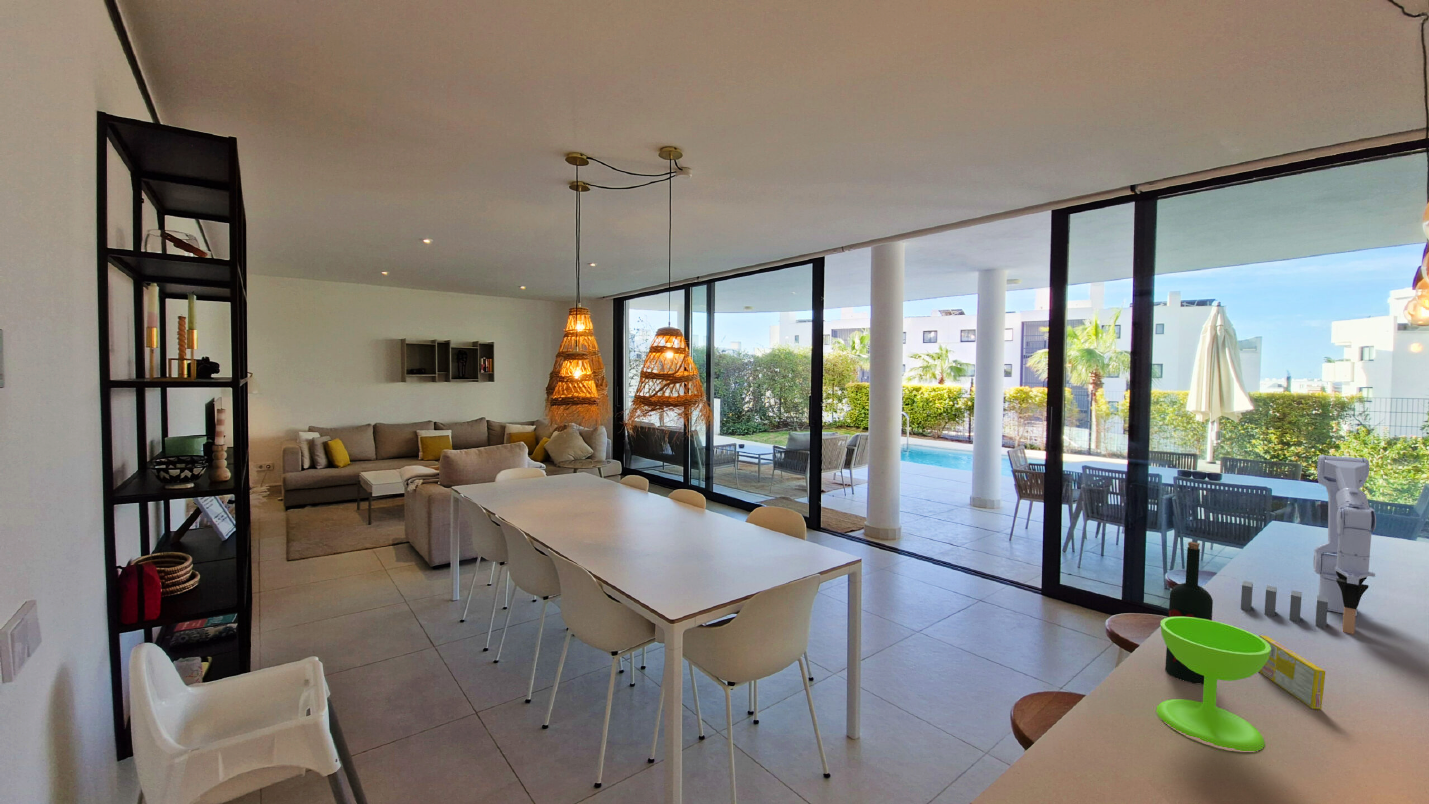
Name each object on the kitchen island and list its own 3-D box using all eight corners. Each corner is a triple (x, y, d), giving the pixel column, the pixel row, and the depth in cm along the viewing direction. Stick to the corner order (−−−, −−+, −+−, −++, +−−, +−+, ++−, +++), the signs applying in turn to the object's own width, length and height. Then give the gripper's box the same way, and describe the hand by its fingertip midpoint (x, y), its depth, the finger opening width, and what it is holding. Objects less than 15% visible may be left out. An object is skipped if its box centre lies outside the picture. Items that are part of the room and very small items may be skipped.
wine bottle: (1155, 675, 130) (1161, 543, 129) (1172, 662, 136) (1178, 535, 134) (1199, 691, 124) (1206, 552, 122) (1215, 676, 130) (1222, 544, 128)
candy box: (1324, 710, 117) (1326, 670, 117) (1311, 709, 118) (1314, 669, 117) (1265, 670, 133) (1267, 634, 133) (1254, 669, 134) (1256, 633, 133)
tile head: (1342, 625, 157) (1344, 600, 156) (1353, 628, 155) (1355, 602, 155) (1342, 631, 153) (1344, 605, 153) (1354, 634, 152) (1356, 607, 151)
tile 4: (1265, 609, 167) (1267, 585, 167) (1275, 611, 166) (1276, 587, 166) (1264, 614, 164) (1265, 589, 164) (1274, 616, 163) (1275, 591, 162)
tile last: (1242, 603, 171) (1243, 580, 171) (1251, 606, 170) (1252, 582, 169) (1240, 608, 168) (1242, 584, 167) (1250, 610, 166) (1251, 586, 166)
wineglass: (1290, 753, 104) (1297, 655, 103) (1199, 752, 104) (1205, 653, 103) (1214, 702, 120) (1219, 616, 119) (1136, 701, 120) (1140, 615, 119)
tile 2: (1315, 620, 160) (1317, 595, 160) (1326, 622, 159) (1327, 597, 158) (1315, 625, 157) (1317, 600, 156) (1326, 627, 155) (1327, 602, 155)
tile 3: (1290, 614, 164) (1291, 590, 163) (1300, 616, 162) (1301, 592, 162) (1289, 619, 160) (1291, 594, 160) (1299, 621, 159) (1301, 596, 159)
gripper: (1378, 563, 145) (1374, 616, 146) (1374, 550, 155) (1370, 600, 156) (1336, 556, 150) (1333, 608, 151) (1336, 544, 160) (1332, 593, 161)
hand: (1349, 603), depth 154 cm, fingers open, 7 cm apart
